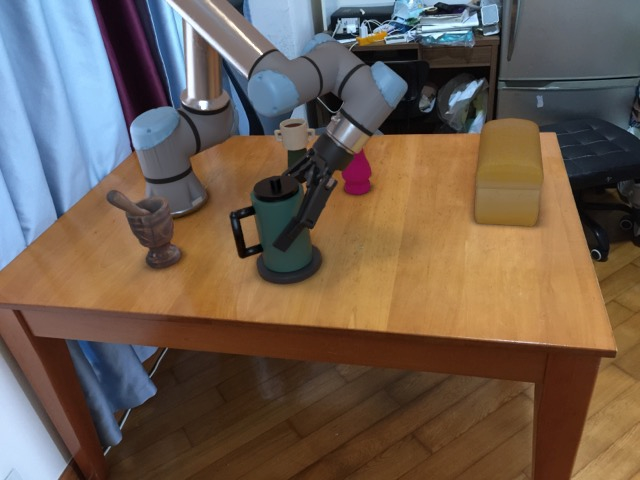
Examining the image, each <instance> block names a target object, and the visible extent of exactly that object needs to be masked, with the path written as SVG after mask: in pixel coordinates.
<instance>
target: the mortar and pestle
mask: <svg viewBox="0 0 640 480" xmlns="http://www.w3.org/2000/svg"><path fill="white" fill-rule="evenodd" d="M105 198H106V201H107V203H109V204H110V205H112V206H113V207H115V208H116V209H119V210H122V211H123V212H125V218H126V220H127V223H128V225H129V228H130V230H131V232H132V235H133V236H135V238H136V239H137V240H138V242H139V244H140V245H141V246H142V247H144V248H148V252H147V254H146V256H145V264H146V265H147V266H149V267H150V268H152V269H158V270H159V269H164V268H168V267H170V266H172V265H174V264H176V263H177V262H178V261H179V260H180V258H181V257H182V252H181V250H180V248H179V246H178V245H177V244H174V243H171V241H172V239H173V237H174V233H175V231H174V227H175V226H174V225H175V224H174V218H172V215H171V212H170V208H169V205H168V200H167V199H165V198H163V197H149V198H145V197H144V198H141V199H139V200H136V201H135V202H133V201H131V199H130V198H129V197H127V196H126V195H125V194H124V193H122V192H121V191H119V190H116V189H111V190H109V191H108V192H107V193H106V196H105Z"/></svg>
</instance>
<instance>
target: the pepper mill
mask: <svg viewBox="0 0 640 480" xmlns="http://www.w3.org/2000/svg"><path fill="white" fill-rule="evenodd" d="M354 156H355V157H354V160H353V161H352V162H351V163H350V165H349V166H348V167H347V168H346V170H345V171H341V178H342V180H343V181H345V182H344V191H345V192H346V193H347V194H349V195H354V196H358V195H363V194H366V193H368V192H369V191H370V190H371V180H370V179H371V177H372V167H371V164H370V162H369V160H368V158H367V157H366V155H365V152H364V148H363V149H362V150H361V151H360V152H359V153H358V154H356V153H354Z"/></svg>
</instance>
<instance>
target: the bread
mask: <svg viewBox="0 0 640 480" xmlns="http://www.w3.org/2000/svg"><path fill="white" fill-rule="evenodd" d="M542 155H543V154H542V144H541V133H540V127H539V126H538V124H537V123H536V122H535V121H532V120H529V119H523V118H515V117H507V118H499V119H494V120H489V121H487V122H486V123H484V124H483V125H482V126H481V129H480V135H479V142H478V151H477V159H476V167H475V174H474V175H475V177H474V179H475V185H476V186H475V193H474V194H475V195H474V209H473V210H474V221H475V222H476V223H477V224H483V225H484V224H485V225H486V224H487V225H503V226H518V227H519V226H520V227H521V226H522V227H524V226H525V227H534V226H535V225H536V223H537V220H538V216H539V212H540V211H539V210H540V203H541V188H542V186H543V182H544V177H545V175H544V165H543V164H544V163H543V156H542Z"/></svg>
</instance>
